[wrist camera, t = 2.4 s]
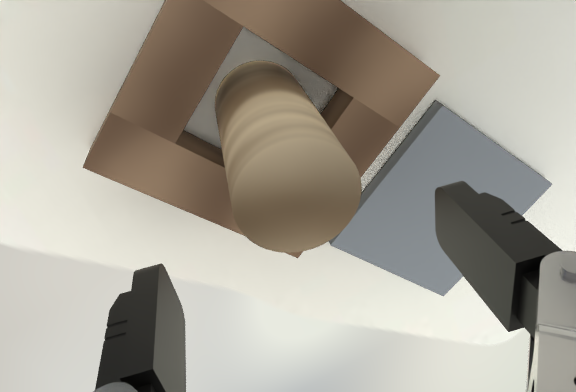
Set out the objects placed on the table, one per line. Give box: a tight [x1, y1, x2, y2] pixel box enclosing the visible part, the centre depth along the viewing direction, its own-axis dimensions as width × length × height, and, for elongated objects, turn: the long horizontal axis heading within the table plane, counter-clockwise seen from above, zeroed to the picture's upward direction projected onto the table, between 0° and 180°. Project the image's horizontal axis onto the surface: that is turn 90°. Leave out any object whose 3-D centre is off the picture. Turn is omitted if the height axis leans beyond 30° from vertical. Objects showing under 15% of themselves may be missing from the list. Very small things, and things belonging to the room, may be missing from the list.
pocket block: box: [83, 0, 440, 258], centre depth 22 cm, size 12×12×2 cm
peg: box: [215, 61, 362, 253], centre depth 19 cm, size 4×4×9 cm
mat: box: [329, 101, 552, 296], centre depth 28 cm, size 10×10×1 cm
